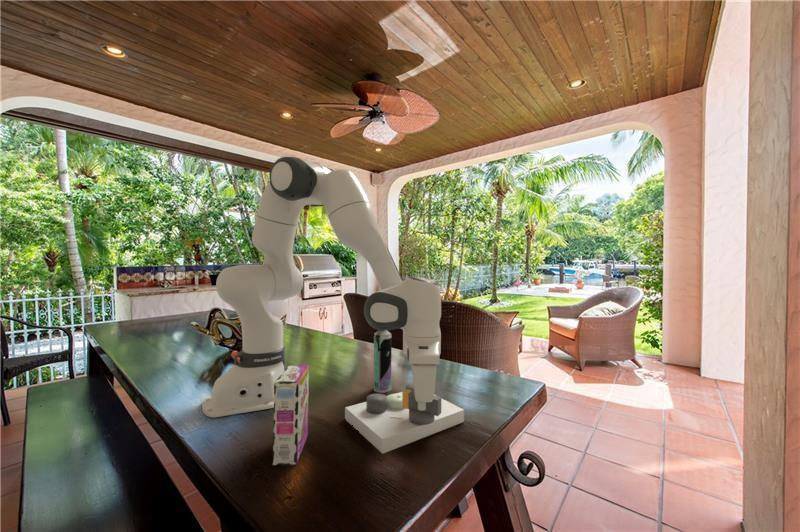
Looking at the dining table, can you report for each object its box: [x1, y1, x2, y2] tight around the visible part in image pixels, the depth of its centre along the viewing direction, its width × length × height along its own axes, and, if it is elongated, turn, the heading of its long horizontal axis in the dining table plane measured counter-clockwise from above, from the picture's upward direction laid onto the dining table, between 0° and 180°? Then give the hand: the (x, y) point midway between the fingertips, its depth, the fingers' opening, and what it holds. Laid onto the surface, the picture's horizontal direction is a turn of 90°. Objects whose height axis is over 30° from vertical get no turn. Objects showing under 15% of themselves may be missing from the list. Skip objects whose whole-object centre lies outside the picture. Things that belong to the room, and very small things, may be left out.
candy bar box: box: [272, 365, 310, 467], centre depth 68 cm, size 11×5×16 cm, turn 5°
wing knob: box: [401, 388, 442, 425], centre depth 76 cm, size 9×6×6 cm, turn 61°
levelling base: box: [344, 383, 465, 454], centre depth 81 cm, size 24×18×6 cm
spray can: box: [373, 330, 393, 394], centre depth 101 cm, size 6×6×20 cm
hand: (421, 404), depth 76 cm, fingers closed on wing knob, 3 cm apart
